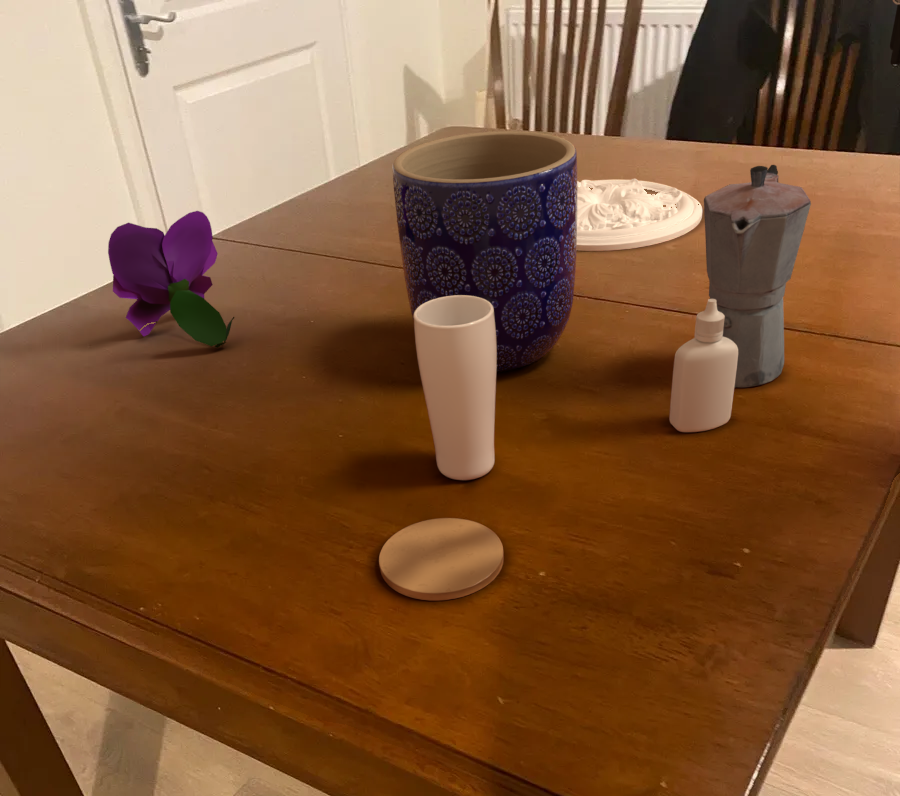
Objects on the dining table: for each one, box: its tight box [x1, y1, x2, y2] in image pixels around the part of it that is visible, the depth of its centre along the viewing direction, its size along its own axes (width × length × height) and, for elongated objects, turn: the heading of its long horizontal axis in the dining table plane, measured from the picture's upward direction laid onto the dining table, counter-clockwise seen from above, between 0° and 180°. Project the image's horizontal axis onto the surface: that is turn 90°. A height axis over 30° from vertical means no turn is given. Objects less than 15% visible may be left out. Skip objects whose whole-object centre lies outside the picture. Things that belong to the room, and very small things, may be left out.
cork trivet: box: [378, 517, 505, 602], centre depth 74 cm, size 10×10×1 cm
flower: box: [107, 210, 236, 349], centre depth 110 cm, size 15×15×14 cm
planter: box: [391, 130, 578, 373], centre depth 97 cm, size 18×18×21 cm
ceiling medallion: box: [576, 178, 703, 252], centre depth 134 cm, size 28×28×3 cm
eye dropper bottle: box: [668, 298, 738, 433], centre depth 84 cm, size 4×6×12 cm
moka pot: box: [703, 164, 812, 388], centre depth 89 cm, size 10×15×20 cm, turn 158°
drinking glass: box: [413, 295, 498, 481], centre depth 80 cm, size 7×7×15 cm
